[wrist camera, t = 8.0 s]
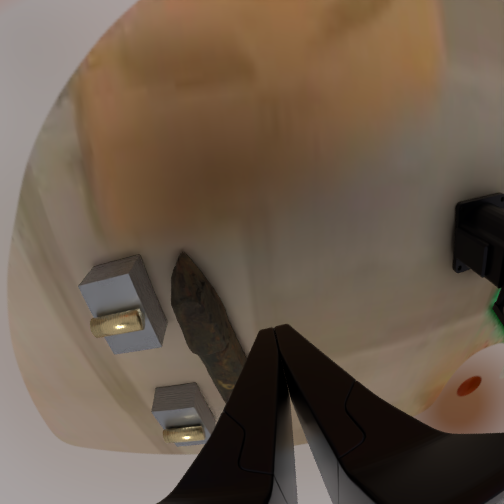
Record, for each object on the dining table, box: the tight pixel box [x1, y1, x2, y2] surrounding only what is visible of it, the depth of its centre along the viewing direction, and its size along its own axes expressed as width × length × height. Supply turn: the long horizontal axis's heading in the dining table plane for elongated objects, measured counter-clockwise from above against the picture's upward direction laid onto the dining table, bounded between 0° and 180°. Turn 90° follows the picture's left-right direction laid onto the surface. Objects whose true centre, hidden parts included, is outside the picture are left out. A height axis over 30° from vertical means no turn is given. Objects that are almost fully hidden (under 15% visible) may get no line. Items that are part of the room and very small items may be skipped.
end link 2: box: [151, 383, 215, 446], centre depth 26 cm, size 4×6×4 cm, turn 13°
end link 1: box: [78, 254, 167, 354], centre depth 21 cm, size 4×6×4 cm, turn 13°
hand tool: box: [171, 252, 247, 403], centre depth 23 cm, size 19×4×5 cm, turn 15°
